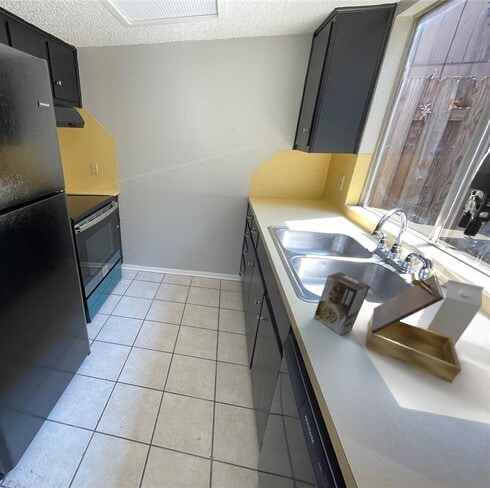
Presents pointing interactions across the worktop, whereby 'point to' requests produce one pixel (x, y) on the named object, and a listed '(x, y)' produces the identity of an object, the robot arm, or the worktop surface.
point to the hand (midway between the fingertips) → (465, 231)
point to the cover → (407, 302)
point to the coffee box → (341, 302)
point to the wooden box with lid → (416, 348)
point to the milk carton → (452, 309)
